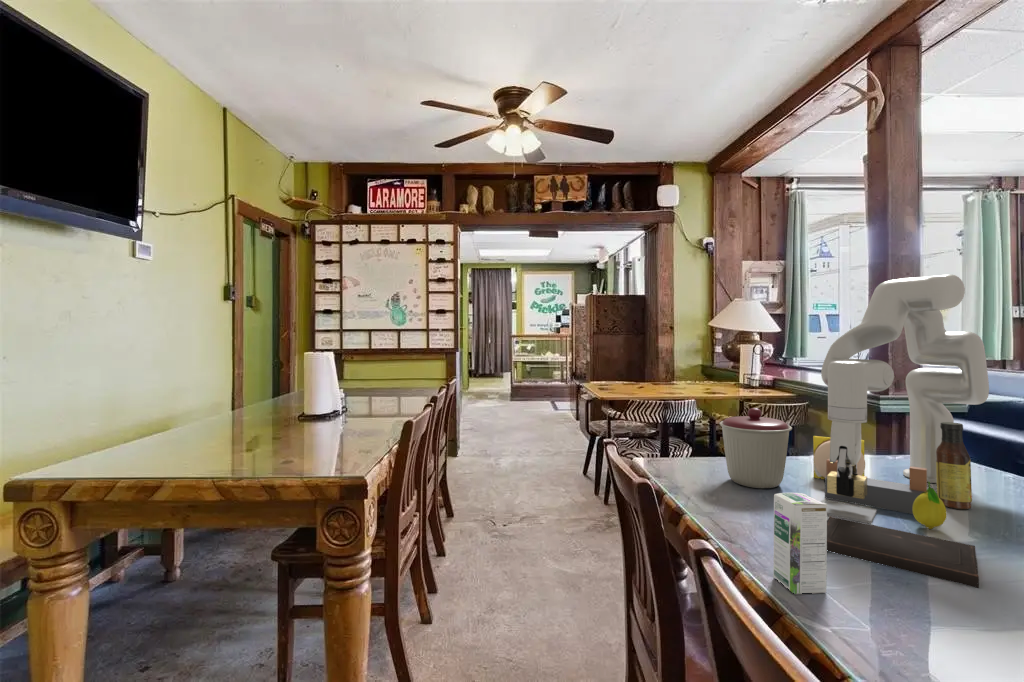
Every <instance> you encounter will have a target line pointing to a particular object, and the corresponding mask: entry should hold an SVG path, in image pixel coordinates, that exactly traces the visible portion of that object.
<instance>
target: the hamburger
mask: <svg viewBox="0 0 1024 682" xmlns="http://www.w3.org/2000/svg"><path fill="white" fill-rule="evenodd" d="M812 438H813V441H812V442H813V444H812V447H813V451H812V452H813V453H812V454H813V459H812V460H813V461H812V463H813V478H814V479H819V478H821V479H820V480H825V478H826V477H827V476H826V460H827V459H830V439H831V436H830V437H828V436H818V435H813V437H812ZM865 470H866V460H865V440H864V439H861V457H860V460H859V461H858V463H857V473H856V474H858V475H860V476H865Z"/></svg>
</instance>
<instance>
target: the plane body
mask: <svg viewBox="0 0 1024 682" xmlns="http://www.w3.org/2000/svg"><path fill="white" fill-rule="evenodd" d="M837 463H838V460H837V461H836V462H834V463H831V462H830V459H827V460H826V476H827V475H828V474H829V473H830V472H831V471H834V472H837ZM908 469H909V477H908V478H909V484H907V483H901V482H894V481H888V480H880V479H875V478H874V479H873V478H869V477H867V495H866V497H865V498H864V499H860V498H855V497H849V496H843V495H838V494H832V493H827V477H826V478H825V479H824V499H828V500H833V501H838V502H844V503H849V504H850V503H851V504H855V503H856V504H855V505H860V506H866V505H867V506H866V507H871V506H873V507H874V508H876V509H882V508H883V510H888V511H894V512H899V513H904V514H910V515H913V510H912V509H913V503H914V501H915V499H916V498H917V497H918V496H919V495H920V494H921V493H923V492H925V491H927V489H928V482H927V469H926V468H919V467H912V466H910V465H909V468H908ZM873 507H872V508H873Z"/></svg>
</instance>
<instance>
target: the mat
mask: <svg viewBox="0 0 1024 682" xmlns="http://www.w3.org/2000/svg"><path fill="white" fill-rule="evenodd" d="M823 503H825V504H827V516H829V517H835V518H840V519H845V520H850V521H855V522H860V523H865V524H868V523H870V525H872V523H873V521H874V518H875V517H876V515H877V513H878V508H873V507H869V506H863V505H858V504H853V503H851V504H850V503H848V502H842V501H837V500H832V499H826V500H825V501H824V502H823Z"/></svg>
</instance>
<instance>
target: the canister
mask: <svg viewBox="0 0 1024 682" xmlns="http://www.w3.org/2000/svg"><path fill="white" fill-rule="evenodd" d="M762 414H763V412H762V410H761V409H759V408H757V407H752V408H749V409H748V410H747V415H743V416H741V415H740V416H731V417H727V418H725V419H724V420H722V421H720V422H719V425H720V427H722V428H721V429H722V438H723V445H724V446H723V447H724V448H723V449H724V455H725V460H726V461H725V462H726V468H727V473H728V475H729V478H730V479H731V481H732V482H734V483H735V484H738V485H740V486H744V487H749V488H753V489H772V488H776V487H778V486H779V485H780V484H781V483H782V481H783V479H784V476H785V469H786V463H787V462H786V461H787V453H788V445H789V444H788V443H789V438H790V437H789V436H790V431H792V430H793V427H792V426H791V425H789V424H788V423H786V422H785V421H783V420H780V419H777V418H771V417H765V416H762Z"/></svg>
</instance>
